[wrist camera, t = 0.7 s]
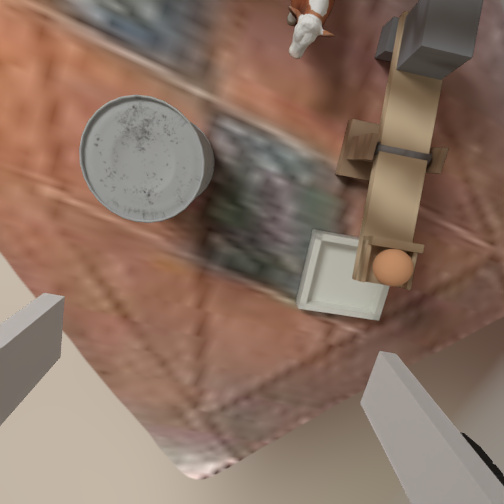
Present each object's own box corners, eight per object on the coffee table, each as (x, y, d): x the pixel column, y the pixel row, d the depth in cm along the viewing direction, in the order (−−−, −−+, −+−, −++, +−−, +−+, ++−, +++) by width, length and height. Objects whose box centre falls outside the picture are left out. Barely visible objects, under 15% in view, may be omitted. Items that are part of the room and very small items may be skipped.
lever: (395, 17, 32) (428, -24, 27) (448, 30, 32) (490, -8, 27) (348, 278, 33) (371, 286, 28) (400, 286, 34) (432, 295, 28)
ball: (372, 242, 31) (388, 250, 28) (406, 248, 32) (426, 257, 28) (362, 276, 32) (377, 288, 29) (396, 281, 33) (414, 294, 29)
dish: (312, 229, 40) (316, 232, 38) (394, 243, 41) (402, 247, 39) (295, 301, 42) (298, 308, 41) (372, 313, 43) (379, 320, 42)
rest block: (382, 26, 34) (393, 16, 32) (435, 39, 35) (450, 30, 33) (374, 58, 35) (384, 50, 33) (426, 70, 36) (440, 63, 33)
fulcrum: (348, 120, 37) (374, 111, 30) (418, 134, 38) (459, 129, 31) (335, 174, 38) (357, 177, 31) (402, 187, 39) (438, 192, 32)
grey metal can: (231, 153, 37) (229, 150, 25) (183, 219, 39) (160, 245, 27) (160, 97, 35) (121, 65, 23) (113, 169, 37) (55, 173, 25)
